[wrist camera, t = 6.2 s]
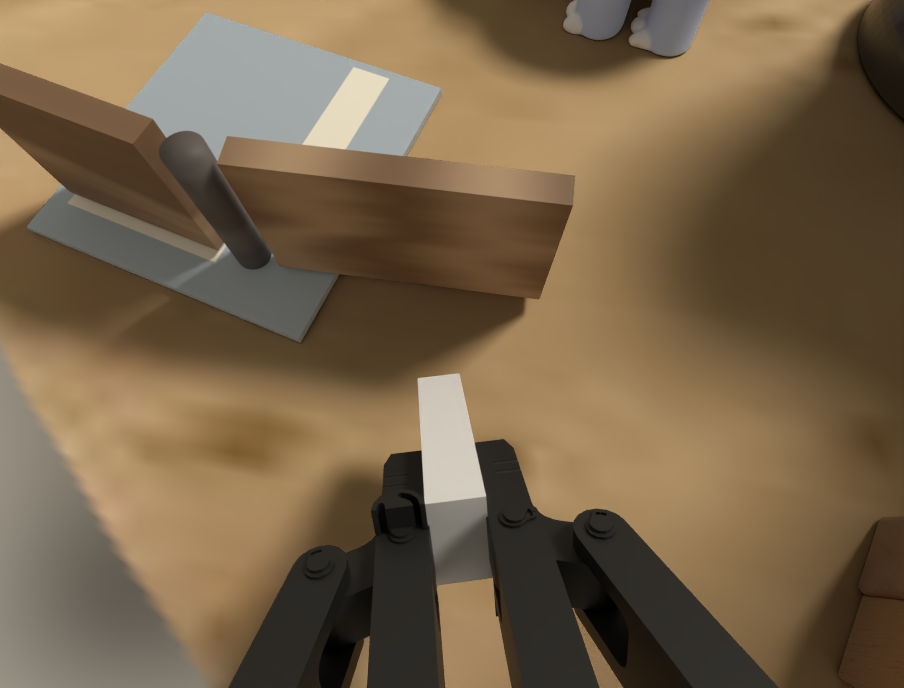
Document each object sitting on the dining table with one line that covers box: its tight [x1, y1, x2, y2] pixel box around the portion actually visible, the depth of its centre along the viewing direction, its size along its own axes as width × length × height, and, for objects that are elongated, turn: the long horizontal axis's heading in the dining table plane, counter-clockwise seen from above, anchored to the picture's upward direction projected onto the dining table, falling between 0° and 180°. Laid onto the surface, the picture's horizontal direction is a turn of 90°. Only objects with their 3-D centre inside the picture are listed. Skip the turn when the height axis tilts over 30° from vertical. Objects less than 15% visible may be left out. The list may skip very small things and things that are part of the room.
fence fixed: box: [0, 64, 272, 270], centre depth 22 cm, size 2×11×8 cm, turn 67°
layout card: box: [26, 12, 441, 343], centre depth 27 cm, size 16×15×1 cm
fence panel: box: [217, 136, 575, 299], centre depth 21 cm, size 12×1×7 cm, turn 82°
